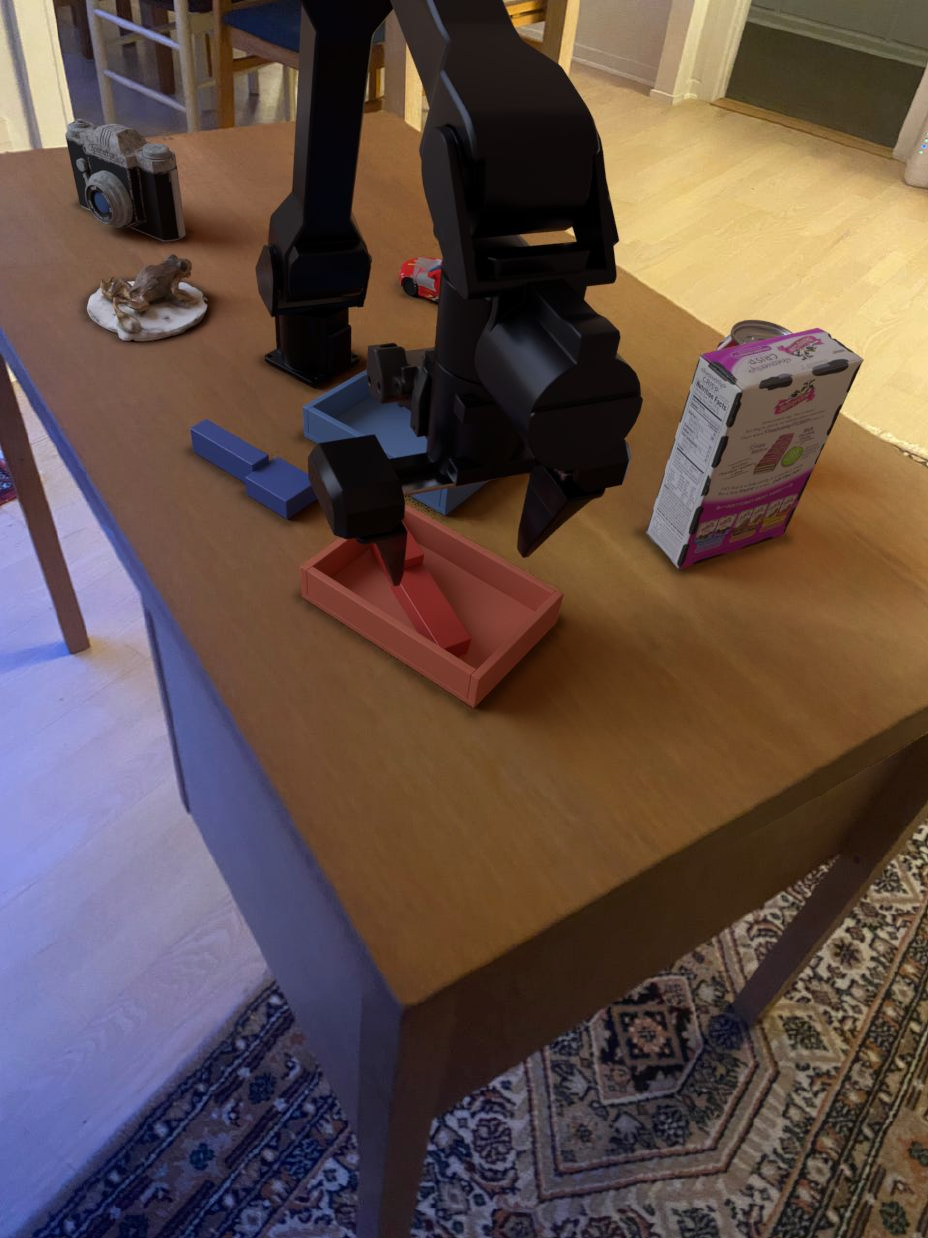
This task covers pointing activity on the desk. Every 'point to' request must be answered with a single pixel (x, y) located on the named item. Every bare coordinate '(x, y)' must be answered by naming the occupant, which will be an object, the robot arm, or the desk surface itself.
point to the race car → (421, 277)
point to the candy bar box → (749, 443)
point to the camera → (126, 179)
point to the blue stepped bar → (254, 469)
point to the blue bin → (375, 431)
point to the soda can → (752, 333)
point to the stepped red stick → (426, 602)
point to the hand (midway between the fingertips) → (459, 567)
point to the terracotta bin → (472, 584)
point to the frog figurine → (149, 302)
